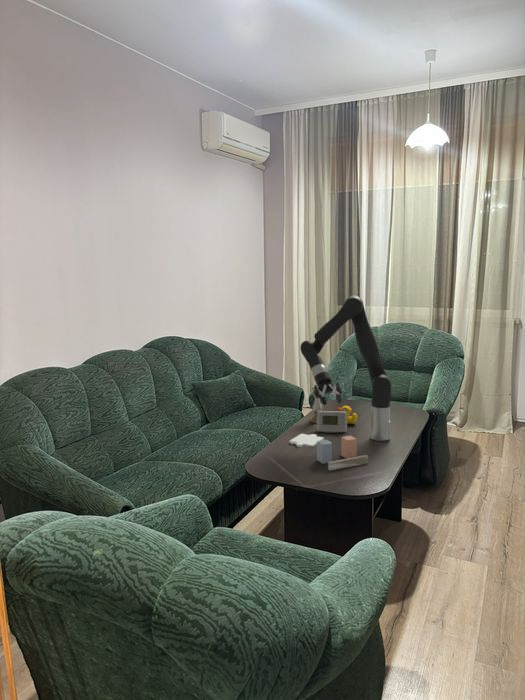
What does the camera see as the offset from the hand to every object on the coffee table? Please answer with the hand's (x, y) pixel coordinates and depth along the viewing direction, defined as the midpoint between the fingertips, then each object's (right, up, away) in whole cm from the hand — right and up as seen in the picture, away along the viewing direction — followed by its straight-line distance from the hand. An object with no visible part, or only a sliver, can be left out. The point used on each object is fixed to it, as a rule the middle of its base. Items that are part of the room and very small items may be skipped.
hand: (332, 403), depth 259 cm
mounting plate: (-12, -21, +13) cm, 28 cm away
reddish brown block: (+6, -24, -9) cm, 26 cm away
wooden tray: (+2, -25, -15) cm, 30 cm away
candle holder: (-3, -15, +47) cm, 49 cm away
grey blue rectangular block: (-6, -25, -15) cm, 29 cm away
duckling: (+14, -16, +42) cm, 47 cm away
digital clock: (+3, -18, +29) cm, 35 cm away
